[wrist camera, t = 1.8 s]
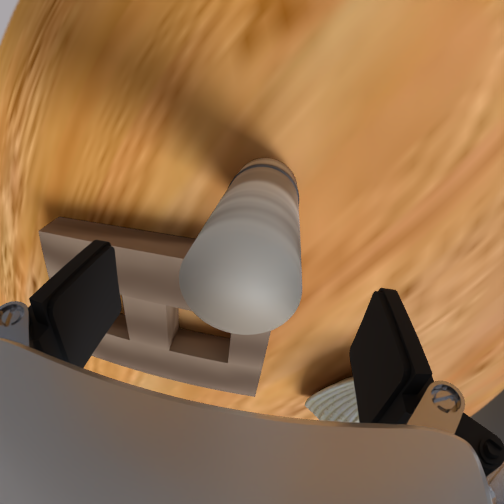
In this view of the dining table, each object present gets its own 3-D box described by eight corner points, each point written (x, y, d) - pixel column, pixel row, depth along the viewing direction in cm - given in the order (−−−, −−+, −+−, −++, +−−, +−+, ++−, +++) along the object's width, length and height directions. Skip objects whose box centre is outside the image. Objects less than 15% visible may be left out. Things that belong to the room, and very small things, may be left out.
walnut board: (58, 216, 23) (38, 231, 21) (284, 253, 23) (282, 276, 20) (84, 330, 30) (71, 348, 28) (258, 373, 29) (254, 396, 27)
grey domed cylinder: (240, 150, 19) (177, 220, 9) (302, 159, 19) (317, 243, 9) (233, 207, 21) (178, 323, 11) (292, 217, 21) (289, 343, 11)
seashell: (414, 397, 26) (365, 452, 26) (361, 356, 33) (317, 408, 32) (404, 387, 21) (341, 457, 21) (337, 336, 28) (284, 399, 27)
